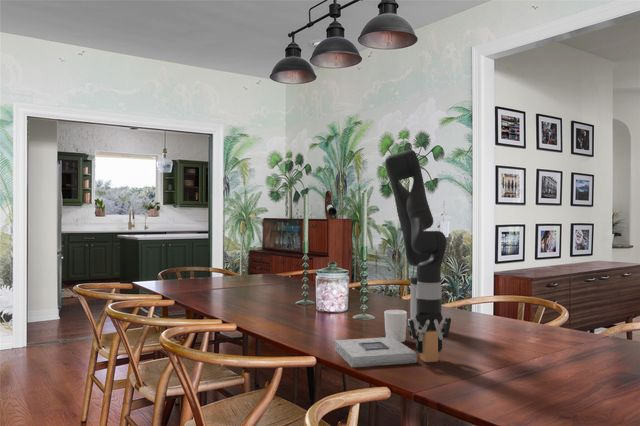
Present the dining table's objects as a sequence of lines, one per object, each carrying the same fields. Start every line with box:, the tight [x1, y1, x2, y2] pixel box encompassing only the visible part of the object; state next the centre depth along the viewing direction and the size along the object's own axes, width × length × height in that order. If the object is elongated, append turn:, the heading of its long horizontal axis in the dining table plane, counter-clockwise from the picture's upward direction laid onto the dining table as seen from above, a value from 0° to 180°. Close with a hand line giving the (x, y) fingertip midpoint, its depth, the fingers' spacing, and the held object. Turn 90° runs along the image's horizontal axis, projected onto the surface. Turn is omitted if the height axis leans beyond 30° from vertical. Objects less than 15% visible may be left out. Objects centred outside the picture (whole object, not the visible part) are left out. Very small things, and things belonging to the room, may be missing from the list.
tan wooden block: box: [419, 330, 439, 363], centre depth 155 cm, size 4×4×9 cm
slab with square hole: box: [334, 336, 417, 368], centre depth 159 cm, size 20×20×3 cm
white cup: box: [383, 309, 408, 343], centre depth 179 cm, size 8×8×10 cm
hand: (429, 351), depth 155 cm, fingers open, 5 cm apart
